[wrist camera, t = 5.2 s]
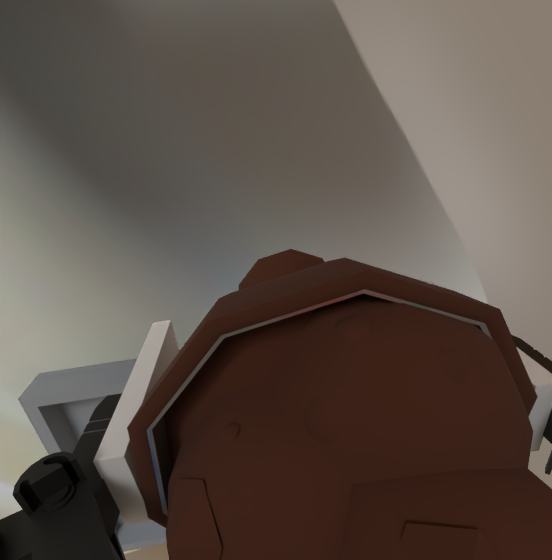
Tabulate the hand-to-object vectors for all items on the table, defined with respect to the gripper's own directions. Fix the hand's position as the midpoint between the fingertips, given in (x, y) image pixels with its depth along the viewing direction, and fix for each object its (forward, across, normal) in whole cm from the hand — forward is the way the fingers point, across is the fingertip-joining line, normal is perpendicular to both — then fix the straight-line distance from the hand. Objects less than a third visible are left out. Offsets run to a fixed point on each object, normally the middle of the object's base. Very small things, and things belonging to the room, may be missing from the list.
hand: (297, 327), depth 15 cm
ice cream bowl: (+3, 0, 0) cm, 3 cm away
